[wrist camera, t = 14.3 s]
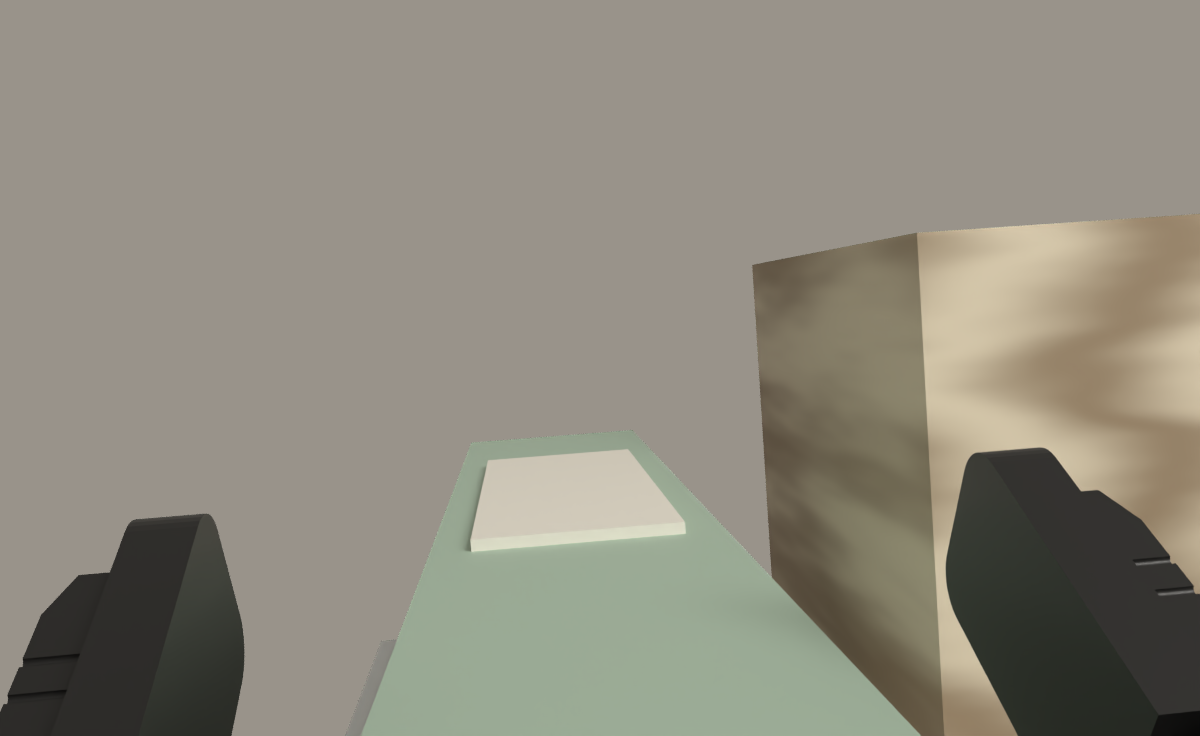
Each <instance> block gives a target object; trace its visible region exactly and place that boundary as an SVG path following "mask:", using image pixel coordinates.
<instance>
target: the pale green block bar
mask: <svg viewBox="0 0 1200 736" xmlns="http://www.w3.org/2000/svg"><path fill="white" fill-rule="evenodd" d="M361 736H921V735H920V734H919V733H918V732H917V731H916V730H915V729H914V728H913V727H912V725H911V724H910V723H909V722H908V721H907V720H906V719H905V718H904V717H903V716H902V715H901V714H900V713H899V712H898V711H897V710H896V709H895V707H894V706H893V705H892V704H891V703H890V702H889V701H888V700H887V699H886V698H885V697H884V696H883V695H882V694H881V693H880V692H879V691H878V689H877V688H876V687H875V686H874V685H873V684H872V683H871V682H870V681H869V680H868V679H867V678H866V677H865V676H864V675H863V674H862V673H861V672H860V670H859V669H858V668H857V667H856V666H855V665H854V664H853V663H852V662H851V661H850V660H849V659H848V658H847V657H846V656H845V655H844V654H843V652H842V651H841V650H840V649H839V648H838V647H837V646H836V645H835V644H834V643H833V642H832V641H831V640H830V639H829V638H828V637H827V636H826V634H825V633H824V632H823V631H822V630H821V629H820V628H819V627H818V626H817V625H816V624H815V623H814V622H813V621H812V620H811V619H810V618H809V616H808V615H807V614H806V613H805V612H804V611H803V610H802V609H801V608H800V607H799V606H798V605H797V604H796V603H795V602H794V601H793V600H792V599H791V597H790V596H789V595H788V594H787V593H786V592H785V591H784V590H783V589H782V588H781V587H780V586H779V585H778V584H777V583H776V582H775V581H774V579H773V578H772V577H771V576H770V575H769V574H768V573H767V572H766V571H765V570H764V569H763V568H762V567H761V566H760V565H759V564H758V563H757V562H756V560H755V559H754V558H753V557H752V556H751V555H750V554H749V553H748V552H747V551H746V550H745V549H744V548H743V547H742V546H741V545H740V543H738V541H737V540H736V539H735V538H734V537H733V536H732V535H731V534H730V533H729V532H728V531H727V530H726V529H725V528H724V527H723V526H722V524H720V522H719V521H718V520H717V519H716V518H715V517H714V516H713V515H712V514H711V513H710V512H709V511H708V510H707V509H706V508H705V507H704V505H703V504H702V503H701V502H700V501H699V500H698V499H697V498H696V497H695V496H694V495H693V494H692V493H691V492H690V491H689V490H688V488H687V487H686V486H685V485H684V484H683V483H682V482H681V481H680V480H679V479H678V478H677V477H676V476H675V475H674V474H673V473H672V472H671V471H670V469H669V468H668V467H667V466H666V465H665V464H664V463H663V462H662V461H661V460H660V459H659V458H658V457H657V456H656V455H655V454H654V453H653V452H652V450H651V449H649V447H648V446H647V445H646V444H645V443H644V442H643V441H642V440H641V439H640V438H639V437H638V436H637V435H636V433H635V432H634V431H633V430H629V431H616V432H604V433H591V434H578V435H565V436H552V437H540V438H527V439H514V440H500V441H488V442H475V443H471V445H470V448H469V451H468V453H467V456H466V459H465V461H464V464H463V467H462V469H461V472H460V475H459V477H458V480H457V483H456V485H455V488H454V490H453V493H452V496H451V498H450V501H449V504H448V507H447V509H446V512H445V514H444V517H443V520H442V522H441V525H440V527H439V530H438V533H437V535H436V538H435V541H434V543H433V546H432V549H431V551H430V554H429V557H428V559H427V562H426V565H425V567H424V570H423V572H422V575H421V578H420V581H419V583H418V586H417V589H416V591H415V594H414V597H413V599H412V602H411V605H410V607H409V610H408V612H407V615H406V618H405V620H404V623H403V626H402V628H401V631H400V633H399V636H398V639H397V641H396V644H395V647H394V649H393V652H392V655H391V657H390V660H389V663H388V665H387V668H386V671H385V673H384V676H383V678H382V681H381V684H380V686H379V689H378V692H377V694H376V697H375V700H374V702H373V705H372V708H371V710H370V713H369V716H368V718H367V721H366V723H365V726H364V729H363V731H362V734H361Z"/></svg>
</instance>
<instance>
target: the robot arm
mask: <svg viewBox="0 0 1200 736" xmlns="http://www.w3.org/2000/svg"><path fill="white" fill-rule="evenodd" d="M946 583H947V590H948V595H949V599H950V602H951V606H952V609H953V611H954V614H955V616H956V618H957V620H958V622H959V624H960V626H961V628H962V629H963V631H964V633H965V635H966V637H967V639H968V641H969V643H970V645H971V647H972V649H973V651H974V652H975V654H976V656H977V658H978V660H979V662H980V664H981V666H982V668H983V670H984V672H985V674H986V675H987V677H988V679H989V681H990V683H991V685H992V687H993V689H994V691H995V693H996V695H997V697H998V699H999V700H1000V702H1001V704H1002V706H1003V708H1004V710H1005V712H1006V714H1007V716H1008V718H1009V720H1010V722H1011V723H1012V725H1013V727H1014V729H1015V731H1016V733H1017V735H1018V736H1200V594H1195V592H1194V585H1193V584H1192V583H1191V582H1190V580H1189V579H1188V578H1187V577H1186V575H1185V574H1184V573H1183V571H1182V570H1181V569H1180V568H1179V566H1178V565H1177V564H1176V563H1173V564H1172V563H1171V561H1170V555H1169V554H1168V552H1167V551H1166V550H1165V549H1164V547H1163V546H1162V545H1161V544H1160V542H1159V541H1158V540H1157V539H1156V537H1155V536H1154V535H1153V534H1152V532H1151V531H1150V530H1149V528H1148V527H1147V526H1146V525H1145V523H1144V522H1143V521H1142V520H1141V519H1140V518H1138V517H1137V516H1135V515H1134V514H1133V513H1131V512H1130V511H1128V510H1127V509H1125V508H1124V507H1122V506H1121V505H1119V504H1118V503H1117V502H1115V501H1114V500H1112V499H1111V498H1109V497H1108V496H1106V495H1105V494H1104V493H1102V492H1101V491H1099V490H1091V491H1081V490H1080V489H1079V488H1078V486H1077V485H1076V484H1075V482H1074V481H1073V480H1072V478H1071V477H1070V476H1069V474H1068V473H1067V472H1066V470H1065V469H1064V468H1063V466H1062V465H1061V464H1060V462H1059V461H1058V460H1057V458H1056V457H1055V456H1054V455H1053V454H1052V452H1050V451H1049V450H1048V449H1045V448H1041V447H1038V448H1026V449H1014V450H1001V451H989V452H977V453H974V454H973V455H971V456H970V458H969V459H968V461H967V463H966V466H965V470H964V474H963V479H962V484H961V489H960V494H959V499H958V503H957V508H956V513H955V518H954V523H953V527H952V532H951V537H950V542H949V547H948V551H947V557H946ZM243 671H244V636H243V628H242V622H241V618H240V614H239V610H238V606H237V603H236V598H235V595H234V591H233V587H232V583H231V580H230V576H229V572H228V568H227V564H226V561H225V557H224V553H223V550H222V546H221V542H220V538H219V534H218V530H217V527H216V524H215V522H214V520H213V518H212V517H211V516H210V515H209V514H196V515H184V516H172V517H160V518H148V519H136V520H133V521H131V522H130V524H129V525H128V526H127V529H126V531H125V533H124V536H123V539H122V541H121V544H120V547H119V549H118V552H117V555H116V558H115V560H114V563H113V566H112V568H111V571H110V573H99V574H88V575H78V577H77V578H76V579H75V580H74V581H73V582H72V583H71V584H70V585H69V586H68V587H67V588H66V589H65V590H64V591H63V592H62V593H61V595H60V596H59V597H58V598H57V599H56V600H55V601H54V602H53V603H52V604H51V605H50V606H49V607H48V608H47V609H46V610H45V612H44V613H43V614H42V615H41V617H40V619H39V622H38V624H37V626H36V628H35V631H34V633H33V636H32V638H31V641H30V643H29V645H28V648H27V650H26V652H25V655H24V657H23V667H20V668H19V669H18V671H17V674H16V676H15V678H14V681H13V683H12V685H11V688H10V690H9V693H8V703H7V704H4V705H3V707H2V709H1V712H0V736H231V735H232V729H233V724H234V720H235V715H236V710H237V705H238V700H239V694H240V689H241V685H242V678H243Z"/></svg>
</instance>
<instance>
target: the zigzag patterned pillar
mask: <svg viewBox="0 0 1200 736" xmlns="http://www.w3.org/2000/svg"><path fill="white" fill-rule="evenodd" d="M752 266H753V283H754V299H755V315H756V331H757V347H758V362H759V378H760V395H761V411H762V427H763V442H764V458H765V475H766V491H767V507H768V523H769V539H770V554H771V571H772V578H773V579H774V581H775V582H776V583H777V584H778V585H779V586H780V587H781V588H782V589H783V590H784V591H785V592H786V593H787V594H788V595H789V596H790V597H791V599H792V600H793V601H794V602H795V603H796V604H797V605H798V606H799V607H800V608H801V609H802V610H803V611H804V612H805V613H806V614H807V615H808V616H809V618H810V619H811V620H812V621H813V622H814V623H815V624H816V625H817V626H818V627H819V628H820V629H821V630H822V631H823V632H824V633H825V634H826V636H827V637H828V638H829V639H830V640H831V641H832V642H833V643H834V644H835V645H836V646H837V647H838V648H839V649H840V650H841V651H842V652H843V654H844V655H845V656H846V657H847V658H848V659H849V660H850V661H851V662H852V663H853V664H854V665H855V666H856V667H857V668H858V669H859V670H860V672H861V673H862V674H863V675H864V676H865V677H866V678H867V679H868V680H869V681H870V682H871V683H872V684H873V685H874V686H875V687H876V688H877V689H878V691H879V692H880V693H881V694H882V695H883V696H884V697H885V698H886V699H887V700H888V701H889V702H890V703H891V704H892V705H893V706H894V707H895V709H896V710H897V711H898V712H899V713H900V714H901V715H902V716H903V717H904V718H905V719H906V720H907V721H908V722H909V723H910V724H911V725H912V727H913V728H914V729H915V730H916V731H917V732H918V733H919V734H920V735H921V736H1018V735H1017V733H1016V731H1015V729H1014V727H1013V725H1012V723H1011V722H1010V720H1009V718H1008V716H1007V714H1006V712H1005V710H1004V708H1003V706H1002V704H1001V702H1000V700H999V699H998V697H997V695H996V693H995V691H994V689H993V687H992V685H991V683H990V681H989V679H988V677H987V675H986V674H985V672H984V670H983V668H982V666H981V664H980V662H979V660H978V658H977V656H976V654H975V652H974V651H973V649H972V647H971V645H970V643H969V641H968V639H967V637H966V635H965V633H964V631H963V629H962V628H961V626H960V624H959V622H958V620H957V618H956V616H955V614H954V611H953V609H952V606H951V602H950V599H949V595H948V590H947V583H946V557H947V551H948V547H949V542H950V537H951V532H952V527H953V523H954V518H955V513H956V508H957V503H958V499H959V494H960V489H961V484H962V479H963V474H964V470H965V466H966V463H967V461H968V459H969V458H970V456H971V455H973V454H974V453H977V452H989V451H1001V450H1014V449H1026V448H1038V447H1041V448H1045V449H1048V450H1049V451H1050V452H1052V454H1053V455H1054V456H1055V457H1056V458H1057V460H1058V461H1059V462H1060V464H1061V465H1062V466H1063V468H1064V469H1065V470H1066V472H1067V473H1068V474H1069V476H1070V477H1071V478H1072V480H1073V481H1074V482H1075V484H1076V485H1077V486H1078V488H1079V489H1080V490H1081V491H1091V490H1099V491H1101V492H1102V493H1104V494H1105V495H1106V496H1108V497H1109V498H1111V499H1112V500H1114V501H1115V502H1117V503H1118V504H1119V505H1121V506H1122V507H1124V508H1125V509H1127V510H1128V511H1130V512H1131V513H1133V514H1134V515H1135V516H1137V517H1138V518H1140V519H1141V520H1142V521H1143V522H1144V523H1145V525H1146V526H1147V527H1148V528H1149V530H1150V531H1151V532H1152V534H1153V535H1154V536H1155V537H1156V539H1157V540H1158V541H1159V542H1160V544H1161V545H1162V546H1163V547H1164V549H1165V550H1166V551H1167V552H1168V554H1169V555H1170V561H1171V563H1172V564H1173V563H1176V564H1177V565H1178V566H1179V568H1180V569H1181V570H1182V571H1183V573H1184V574H1185V575H1186V577H1187V578H1188V579H1189V580H1190V582H1191V583H1192V584H1193V585H1194V592H1195V594H1200V214H1192V215H1179V216H1162V217H1148V218H1132V219H1118V220H1103V221H1087V222H1072V223H1057V224H1043V225H1027V226H1012V227H998V228H983V229H969V230H952V231H939V232H938V231H937V232H922V233H914V234H908V235H903V236H898V237H893V238H888V239H883V240H878V241H873V242H867V243H862V244H857V245H852V246H848V247H842V248H837V249H832V250H827V251H821V252H817V253H811V254H806V255H801V256H796V257H791V258H786V259H781V260H775V261H770V262H765V263H761V264H755V265H752Z"/></svg>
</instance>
